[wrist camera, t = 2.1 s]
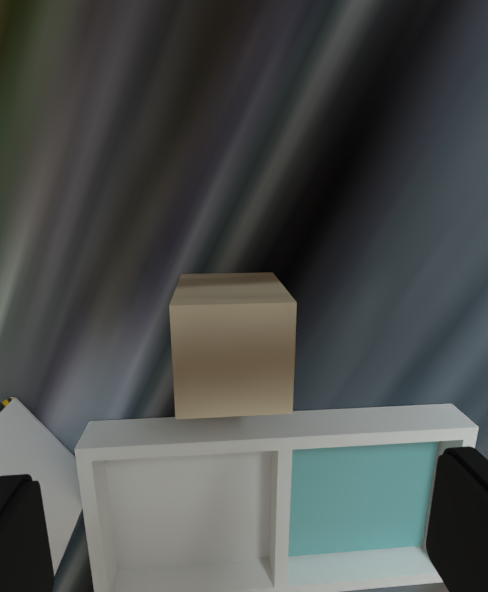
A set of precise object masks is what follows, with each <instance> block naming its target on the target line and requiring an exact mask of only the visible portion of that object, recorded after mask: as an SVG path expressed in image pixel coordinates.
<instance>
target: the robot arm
mask: <svg viewBox="0 0 488 592" xmlns="http://www.w3.org/2000/svg"><path fill="white" fill-rule="evenodd" d="M426 550H427V554H428V557H429V559H430V561H431V563H432V564H433V566H434V568H435V569H436V571H437V572H438V574H439V576H440V577H441V579H442V580H443V582H444V584H445V585H446V587H447V589H448V590H449V592H488V460H487V459H486V458H485V457H484V456H483V455H482V454H480V453H479V452H478V451H477V450H476V449H475V448H473V447H470V446H467V447H451V448H446V449H445V450H444V452H443V455H440V456H439V457H438V461H437V468H436V475H435V482H434V489H433V495H432V502H431V509H430V516H429V523H428V530H427V537H426ZM53 585H54V570H53V564H52V557H51V551H50V545H49V538H48V532H47V526H46V519H45V513H44V507H43V500H42V494H41V488H40V483H39V482H38V481H33V480H32V477H31V476H30V475H29V474H20V475H4V476H0V592H52V590H53Z"/></svg>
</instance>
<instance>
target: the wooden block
mask: <svg viewBox="0 0 488 592" xmlns="http://www.w3.org/2000/svg"><path fill="white" fill-rule="evenodd" d="M169 312H170V330H171V348H172V366H173V384H174V402H175V420H177V419H196V418H216V417H235V416H255V415H274V414H293V390H294V364H295V338H296V312H297V302H296V301H295V299H294V298H293V297H292V296H291V295H290V293H289V292H288V291H287V290H286V288H285V287H284V286H283V285H282V283H281V282H280V281H279V280H278V278H277V277H276V276H275V275H274V274H273V272H267V273H212V274H181V275H180V278H179V280H178V283H177V286H176V289H175V291H174V294H173V297H172V299H171V302H170V305H169Z"/></svg>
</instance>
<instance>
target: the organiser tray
mask: <svg viewBox="0 0 488 592" xmlns="http://www.w3.org/2000/svg"><path fill="white" fill-rule="evenodd" d="M478 429H479V427H478V426H477V425H476V424H475V423H474V422H472V421H471V420H470V419H469V418H468V417H467V416H466V415H464V414H463V413H462V412H461V411H460V410H459V409H457V408H456V407H455V406H454V405H453V404H452V403H451V404H430V405H410V406H389V407H369V408H348V409H328V410H307V411H293V414H274V415H255V416H235V417H216V418H196V419H177V420H175V417H164V418H144V419H123V420H103V421H89V423H88V424H87V426H86V428H85V430H84V432H83V434H82V436H81V438H80V439H79V441H78V443H77V445H76V447H75V449H74V451H75V458H76V465H77V473H78V480H79V487H80V494H81V501H82V508H83V515H84V523H85V530H86V537H87V544H88V551H89V558H90V566H91V573H92V580H93V587H94V592H340V591H351V590H362V589H373V588H384V587H395V586H406V585H417V584H428V583H439V582H443V580H442V579H441V577H440V576H439V574H438V572H437V571H436V569H435V568H434V566H433V564H432V563H431V561H430V559H429V557H428V554H427V550H426V537H427V530H428V523H429V516H430V509H431V502H432V495H433V489H434V482H435V475H436V468H437V461H438V457H439V456H440V455H443V452H444V450H445V449H446V448H451V447H467V446H470V447H473V448H475V445H476V439H477V434H478Z"/></svg>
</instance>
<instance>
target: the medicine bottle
mask: <svg viewBox="0 0 488 592" xmlns="http://www.w3.org/2000/svg"><path fill="white" fill-rule="evenodd" d="M20 474H29V475H30V476H31V477H32V480H33V481H38V482H39V483H40V488H41V494H42V500H43V507H44V513H45V519H46V526H47V532H48V538H49V545H50V551H51V557H52V564H53V570H54V576H55V574H56V572H57V569H58V567H59V564H60V562H61V559H62V557H63V555H64V552H65V550H66V547H67V545H68V542H69V540H70V537H71V535H72V533H73V530H74V528H75V525H76V523H77V520H78V518H79V515H80V513H81V511H82V501H81V494H80V487H79V480H78V473H77V465H76V458H75V456H74V455H73V454H72V453H71V452H70V451H69V450H68V449H67V448H66V447H65V446H64V445H63V444H62V443H61V442H60V441H59V440H58V439H57V438H56V437H55V436H54V435H53V434H52V433H51V432H50V431H49V430H48V429H47V428H46V427H45V426H44V425H43V424H42V423H41V422H40V421H39V420H38V419H37V418H36V417H35V416H34V415H33V414H32V413H31V412H30V411H29V410H28V409H27V408H26V407H25V406H24V405H23V404H22V403H21V402H20V401H19V400H18V399H17V398H16V397H10V398H8V399H6V400H5V401H3V402H2V403H0V476H4V475H20Z"/></svg>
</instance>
